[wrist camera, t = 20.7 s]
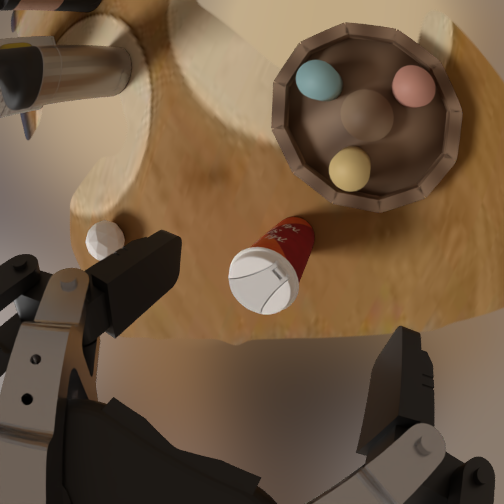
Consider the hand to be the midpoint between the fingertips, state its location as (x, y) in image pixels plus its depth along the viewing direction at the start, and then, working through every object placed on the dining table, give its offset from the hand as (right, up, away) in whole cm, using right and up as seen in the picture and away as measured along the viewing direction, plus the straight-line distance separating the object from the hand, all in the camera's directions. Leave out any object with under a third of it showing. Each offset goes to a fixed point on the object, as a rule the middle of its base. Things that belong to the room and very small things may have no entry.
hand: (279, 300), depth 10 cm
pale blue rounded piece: (+8, +21, +21) cm, 31 cm away
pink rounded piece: (+17, +20, +17) cm, 31 cm away
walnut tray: (+13, +18, +22) cm, 31 cm away
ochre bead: (+11, +12, +24) cm, 29 cm away
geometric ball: (-27, +5, +47) cm, 54 cm away
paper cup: (+5, +4, +32) cm, 33 cm away
